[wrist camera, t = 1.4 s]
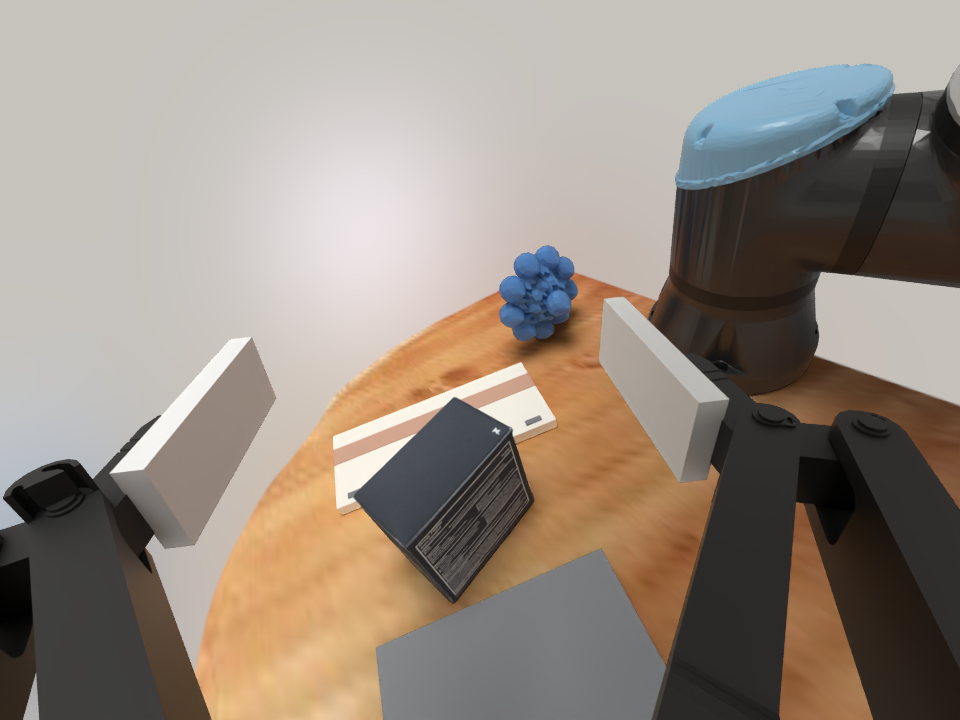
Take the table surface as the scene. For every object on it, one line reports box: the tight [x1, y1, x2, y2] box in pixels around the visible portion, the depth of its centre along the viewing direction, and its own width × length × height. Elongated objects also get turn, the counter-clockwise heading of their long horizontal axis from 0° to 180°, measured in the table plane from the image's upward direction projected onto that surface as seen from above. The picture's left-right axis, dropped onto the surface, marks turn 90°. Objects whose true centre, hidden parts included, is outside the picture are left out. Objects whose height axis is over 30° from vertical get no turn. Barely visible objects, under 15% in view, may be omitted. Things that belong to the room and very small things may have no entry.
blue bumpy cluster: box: [499, 245, 578, 341], centre depth 46 cm, size 12×7×12 cm, turn 132°
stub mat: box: [376, 549, 666, 720], centre depth 26 cm, size 18×14×1 cm
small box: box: [353, 397, 534, 603], centre depth 32 cm, size 11×6×10 cm, turn 138°
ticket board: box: [333, 362, 557, 515], centre depth 43 cm, size 22×9×1 cm, turn 107°
